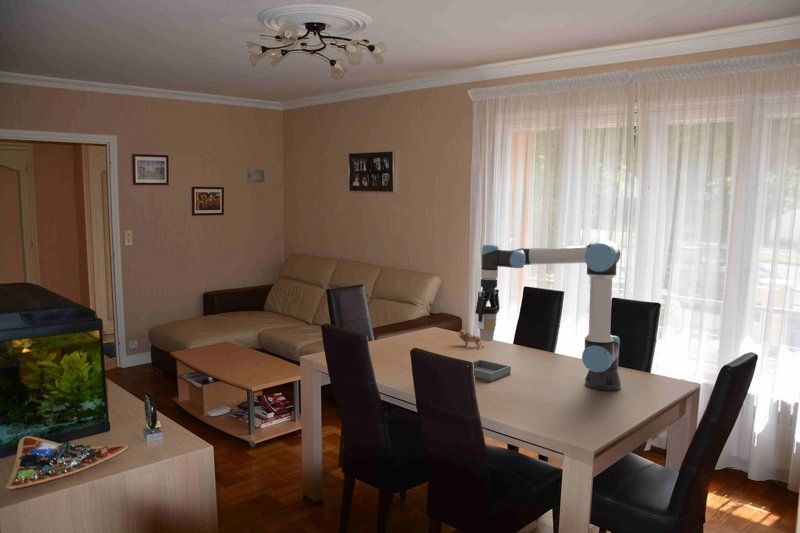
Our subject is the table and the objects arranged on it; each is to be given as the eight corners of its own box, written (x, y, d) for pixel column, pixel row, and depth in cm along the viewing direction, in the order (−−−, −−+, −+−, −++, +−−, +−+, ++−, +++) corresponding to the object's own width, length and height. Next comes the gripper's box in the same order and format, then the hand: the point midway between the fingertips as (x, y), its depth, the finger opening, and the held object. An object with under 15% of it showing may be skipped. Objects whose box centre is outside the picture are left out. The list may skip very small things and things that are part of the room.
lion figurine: (456, 346, 333) (457, 330, 331) (460, 344, 337) (460, 328, 336) (482, 349, 326) (483, 333, 325) (485, 347, 331) (486, 331, 330)
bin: (510, 374, 281) (510, 366, 281) (490, 382, 269) (490, 373, 268) (479, 367, 292) (480, 359, 292) (459, 374, 280) (459, 366, 279)
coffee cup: (496, 337, 283) (497, 306, 281) (497, 342, 273) (498, 310, 272) (475, 336, 284) (477, 305, 282) (476, 341, 274) (477, 309, 273)
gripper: (495, 275, 286) (493, 322, 289) (468, 279, 269) (466, 329, 272) (508, 277, 281) (506, 324, 284) (482, 281, 265) (480, 331, 267)
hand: (487, 326), depth 278 cm, fingers closed on coffee cup, 9 cm apart
